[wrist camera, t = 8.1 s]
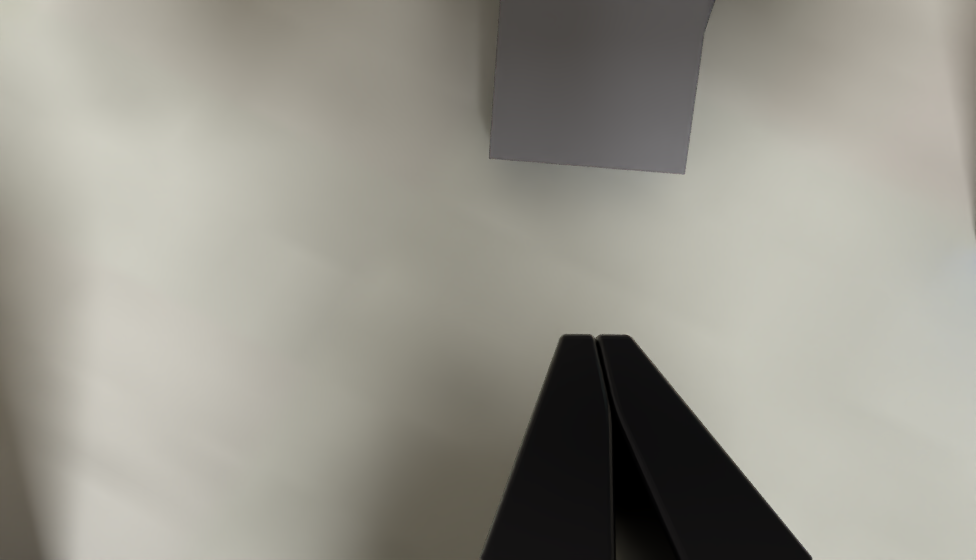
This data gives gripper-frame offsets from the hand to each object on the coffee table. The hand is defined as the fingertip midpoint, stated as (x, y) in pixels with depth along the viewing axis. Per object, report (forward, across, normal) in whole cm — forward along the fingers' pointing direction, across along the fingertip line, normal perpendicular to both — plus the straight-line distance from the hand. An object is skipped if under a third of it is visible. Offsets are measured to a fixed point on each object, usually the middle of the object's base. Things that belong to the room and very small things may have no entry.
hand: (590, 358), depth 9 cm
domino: (+11, -1, +4) cm, 11 cm away
